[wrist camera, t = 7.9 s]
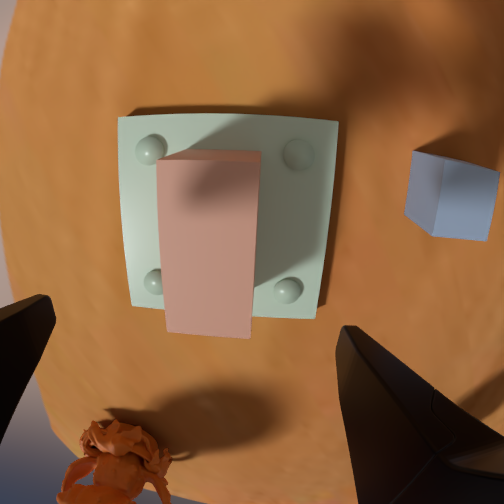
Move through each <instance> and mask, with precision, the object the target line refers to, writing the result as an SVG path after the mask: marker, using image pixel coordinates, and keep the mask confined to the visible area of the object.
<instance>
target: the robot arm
mask: <svg viewBox="0 0 504 504" xmlns="http://www.w3.org/2000/svg"><path fill="white" fill-rule="evenodd" d="M55 324H56V316H55V312H54V308H53V304H52V300H51V298H50V297H49V296H48V295H42V294H37V295H35V296H32V297H29V298H26V299H24V300H21V301H18V302H16V303H13V304H11V305H8V306H5V307H3V308H0V444H1V441H2V439H3V437H4V434H5V432H6V429H7V427H8V425H9V423H10V420H11V418H12V416H13V414H14V412H15V409H16V407H17V405H18V403H19V401H20V399H21V396H22V394H23V392H24V390H25V388H26V386H27V384H28V382H29V380H30V378H31V376H32V374H33V373H34V371H35V369H36V367H37V365H38V363H39V361H40V359H41V356H42V354H43V352H44V349H45V347H46V345H47V342H48V340H49V338H50V335H51V333H52V331H53V329H54V326H55ZM335 357H336V367H337V379H338V391H339V401H340V406H341V411H342V416H343V421H344V426H345V431H346V437H347V442H348V447H349V452H350V458H351V463H352V469H353V475H354V480H355V486H356V492H357V498H358V504H504V436H502V435H501V434H499V433H497V432H496V431H494V430H493V429H491V428H490V427H488V426H487V425H485V424H484V423H482V422H481V421H479V420H478V419H476V418H475V417H473V416H472V415H470V414H469V413H467V412H466V411H464V410H463V409H461V408H460V407H458V406H457V405H456V404H454V403H453V402H452V401H451V400H449V399H448V398H447V397H445V396H444V395H443V394H442V393H440V392H439V391H438V390H437V389H435V390H434V387H433V386H432V385H430V384H429V383H428V382H427V381H425V380H424V379H423V378H422V377H420V376H419V375H418V374H417V373H415V372H414V371H413V370H412V369H410V368H409V367H408V366H407V365H405V364H404V363H403V362H401V361H400V360H399V359H398V358H396V357H395V356H394V355H393V354H391V353H390V352H389V351H388V350H386V349H385V348H384V347H383V346H381V345H380V344H379V343H378V342H376V341H375V340H374V339H373V338H371V337H370V336H369V335H368V334H366V333H365V332H364V331H363V330H361V329H360V328H359V327H357V326H350V325H344V326H343V327H342V328H341V331H340V335H339V339H338V342H337V346H336V352H335Z"/></svg>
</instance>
